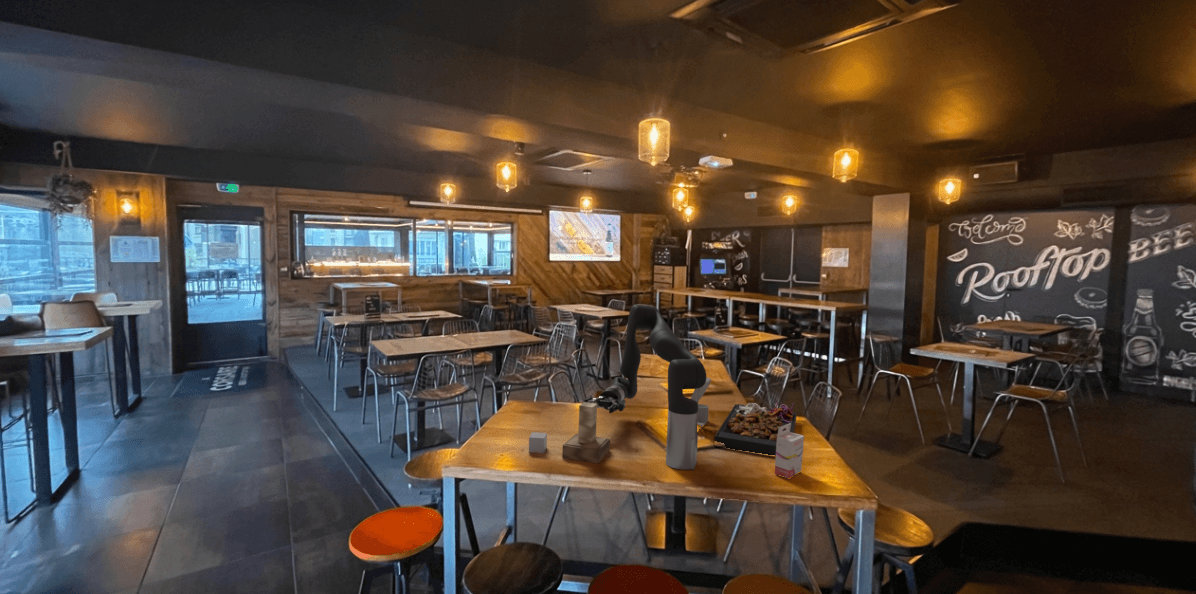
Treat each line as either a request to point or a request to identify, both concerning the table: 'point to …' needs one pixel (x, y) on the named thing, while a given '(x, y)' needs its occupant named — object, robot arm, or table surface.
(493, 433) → the table surface
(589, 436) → the oak block
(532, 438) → the stone cube
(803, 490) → the table surface
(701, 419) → the phone holder
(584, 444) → the walnut riser
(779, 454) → the ink cartridge box
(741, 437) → the food platter
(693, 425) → the robot arm
